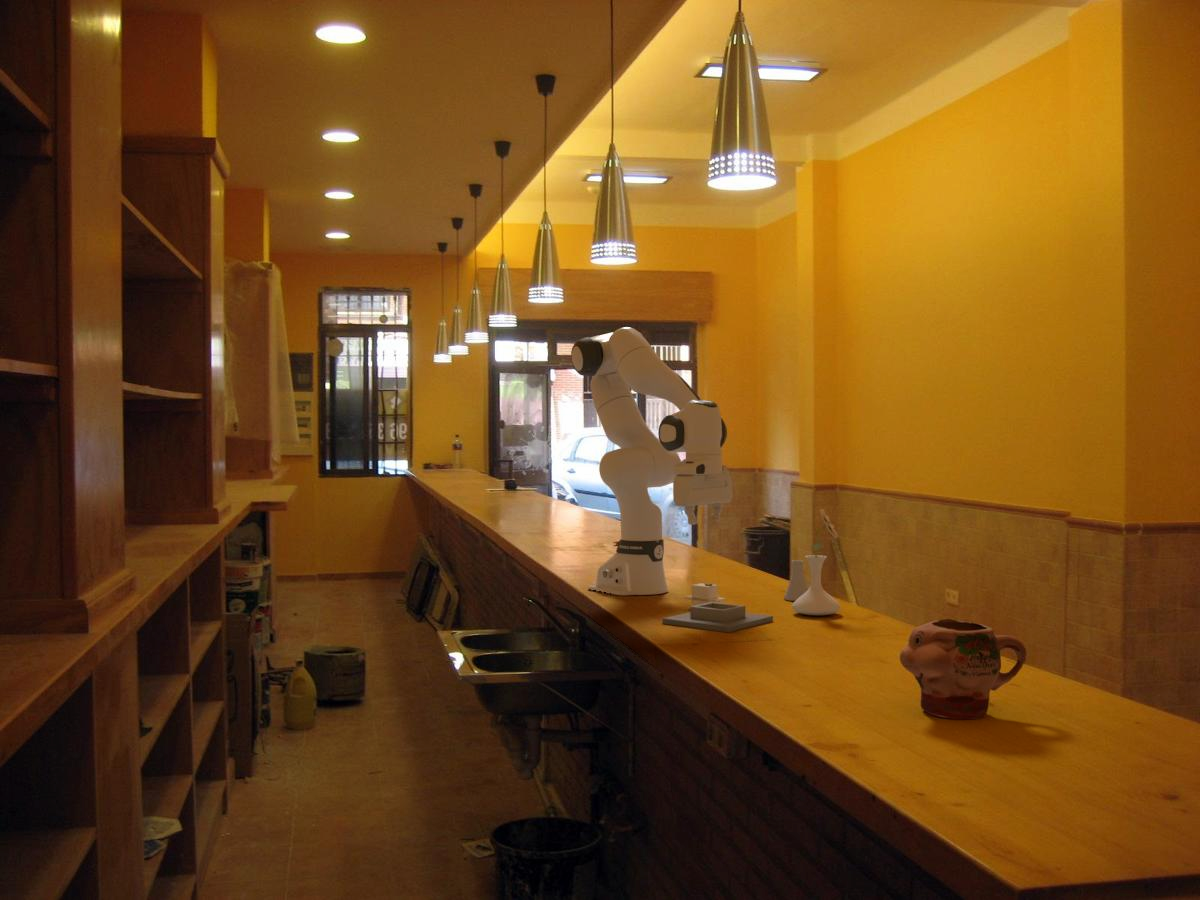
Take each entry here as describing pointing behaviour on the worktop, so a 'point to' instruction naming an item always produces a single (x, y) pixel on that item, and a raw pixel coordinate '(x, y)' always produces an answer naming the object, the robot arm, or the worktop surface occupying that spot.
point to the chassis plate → (718, 617)
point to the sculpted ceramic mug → (958, 666)
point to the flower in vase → (817, 582)
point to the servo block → (704, 594)
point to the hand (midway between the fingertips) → (704, 523)
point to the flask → (796, 582)
